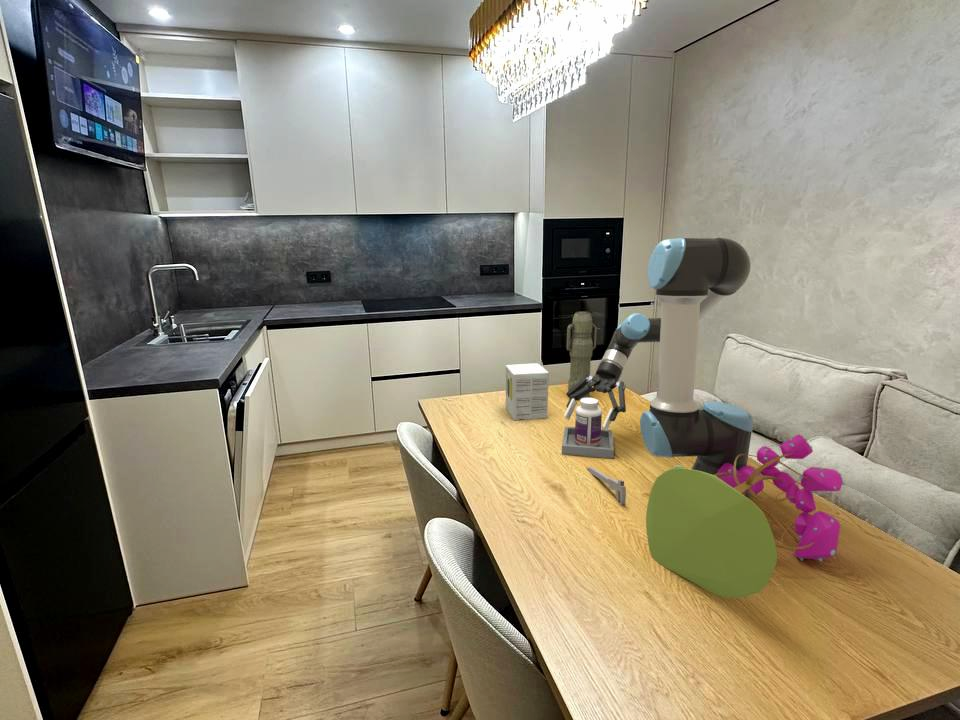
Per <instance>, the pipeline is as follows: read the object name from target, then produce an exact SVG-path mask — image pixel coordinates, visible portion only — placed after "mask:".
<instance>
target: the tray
mask: <svg viewBox="0 0 960 720" xmlns="http://www.w3.org/2000/svg"><path fill="white" fill-rule="evenodd" d="M562 436H563V437H562V444H561V455H568V456H578V457H579V456H580V457H589V458H591V457H592V458H593V457H594V458H602V459H603V458H604V459H614V458H615V457H614V454H615V449H614V446H615V445H614V435H613V430H612V429H608V431H605V430H604V428H603V429H602V428H601V441H600V444H599V445H597V446H595V447H592V446H580V445H578V444H577V443H576V442H575V426H574V427H573V426H564V430H563V435H562Z"/></svg>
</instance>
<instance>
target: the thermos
mask: <svg viewBox="0 0 960 720" xmlns="http://www.w3.org/2000/svg"><path fill="white" fill-rule="evenodd" d="M597 331H598V328H597V326H596V324H594V323H593V318H592V313H590V311H582V310H581V311H576V312H575V313H574V315H573V318H572V323H571V324H568V326H567V328H566V350H567V351H568V352H569V356H570V366H569V367H570V368H569V369H570V370H569V378H568V385H567V392H568V391H569V390H570V389H571V388H573V387H574V386H575V385H576V384H577V383H578V382H579V381H581V380H582V379H583V377H584V376H585V374H588V375H589V376H591V362H592V361H591V360H592V357H593V351H594V350H595V349H596V348H597ZM571 333H572V334H571ZM591 382H592V381H590V383H591ZM588 384H589V383H588ZM588 384H587V385H586V386H588ZM586 386H585V387H586ZM590 394H591V392H590V393H589V394H587V395H585V396H584V397H582V398H591V395H590ZM582 398H580V399H578V400H577V401H578V402H580V400H581V399H582Z"/></svg>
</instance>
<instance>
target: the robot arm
mask: <svg viewBox="0 0 960 720" xmlns="http://www.w3.org/2000/svg"><path fill="white" fill-rule="evenodd" d="M647 267H648V268H647V279H648V280H647V281H648V285H649V286H650V288H652V289H654V290H655V297H657V299H659V300H660V302H661V313H660V314H661V316H660V317H655V318H654V317H649V318H648V317H647V316H646V315H644V314H641V313H639V312H636V313H631V314H630V315H629V316H628V317H626V319H624V320H623V322H622V323H620V324H619V325H617V328H615V331H614V332H613V335H612V338H611V340H610V343H608V346H607V349H606V350H605V352H604V355H603V357H602V358H601V360H600V363H599V364H598V367H597V368H596V371H595V375H594V376H592V375H590V376H589V375H588V374H585V376H584V377H583V379H582V380H581V381H579V382H578V383H577V384H576V385H575V386H574V387H573V388H571V389H570V390H569V391H568V390H567V391H566V394H565V395H566V396H567V398H568V399H569V400H568V402H567V404H566V410H565V413H564V414H563V417H565V419H566V420H567V421H570V419H571V417H572V414H573V413H574V411H575V410H576V406H577V405H578V402H577V401H578V399H580V398H582V397H584V396H585V395H587V394H589V393H590V394H591V393H594V392H598V393H602V394H608V397H609V400H610V401H611V404H612V405H611V406H612V407H610V408H609V411H608V413H607V415H606V418H605V420H604V422H603V424H602V425H601V428H603V429H604V430H605V431H608V430H609V428H610V426H611V424H612V422H615V421H616V419H617V417H618V414H619V413H626V411H627V407H626V397H625V390H626V388H627V387H626V384H625V382H624V381H623V380H622V381H619V380H620V378H621V375H622V373H623V371H624V369H625V366H626V365H627V362H628V360H629V357H630V356H631V353H632V351H633V349H634V348H635V347H636V346H637V345H638V344H639V343H659V350H658V367H657V368H658V369H657V383H656V385H657V386H656V396H655V398H653V399H652V400H651V401H650V402H649V410H645V411H643V412H642V413H641V416H640V418H639V428H640V432H641V433H640V434H641V438H642V440H643V445H644V446H645V448H646V449H647V451H648V452H649V453H650V455H652V456H654V457H657V458H669V459H671V458H685V457H696V459H695V461H694V463H693V465H692V467H691V469H692V470H697V471H701V472H705V473H708V474H712V475H714V474H717V472H718V470H719V469H720V468H721V467H722V466H723V465H724V464H725V463H729V464H731V465H733V466H734V461H735V459H736V457H737V456H738V455H739V454H748V455H741V456H739V457H738V458H737V461H736V469H737V471H739V469H740V468H742V467H744V466H748V459H749V451H750V446H751V440H752V433H753V432H754V430H753V424H754V423H753V416H752V415H751V413H750V412H749V411H748V410H745V409H744V408H742V407H740V406H737V405H734V404H731V403H727V402H723V401H722V402H721V401H714V400H713V401H706V402H704V403H703V405H702V406H701V408H702V409H700V405H699V404H698V403H697V402H696V401H695V400H694V393H695V382H696V381H695V379H696V378H695V377H696V366H697V365H696V363H697V354H698V353H697V351H698V338H699V337H698V336H699V323H700V321H701V320H702V319H703V318H704V317H705V316H707V314H708V313H709V312H711V310H713V309H714V308H715V307H716V306H717V305H718V304H719V303H720V302H721V301H722V300H723V299H724V298H725V297H728V296H732V295H734V294H735V293H736V292H738V291H739V290H740V289H741V287H743V285H744V284H745V283H746V281H747V280H748V278H749V276H750V272H751V259H750V256H749V254H748V251H747V250H746V249H745V247H744V246H742V245H741V244H740V243H739V242H737V241H735V240H733V239H731V238H727V237H726V238H725V237H714V238H713V237H712V238H710V237H706V238H703V237H691V238H690V237H684V238H683V237H679V238H667V239H663V240H661V241H660V242H658V244H657V245H656V246H655V248H654V250H653V251H652V254H651V256H650V259H649V262H648V266H647ZM590 381H591V383H590ZM588 383H589V384H588ZM587 384H588V386H586V385H587ZM585 386H586V387H585ZM615 388H617V389H618V401H619V405H618V402H617V400H616V397H615V393H614V392H613V391H614V390H613V389H615ZM745 497H747V498H748V499H750V498H751V495H750V494H748V493H746V492H745ZM750 500H751V499H750Z"/></svg>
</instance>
